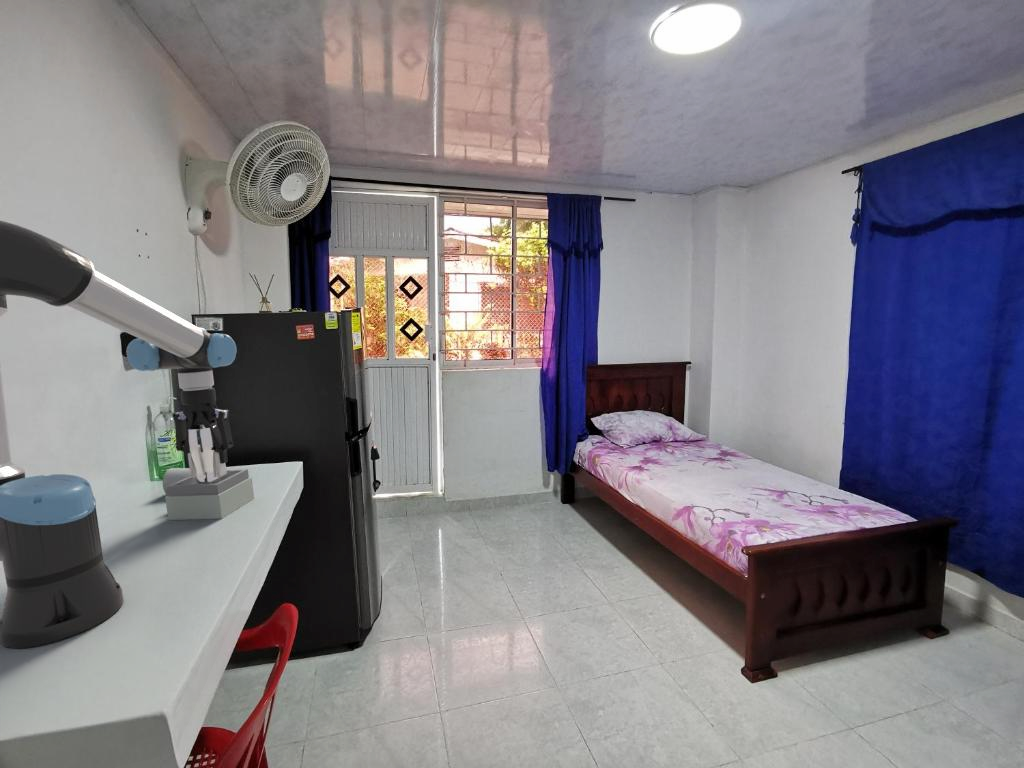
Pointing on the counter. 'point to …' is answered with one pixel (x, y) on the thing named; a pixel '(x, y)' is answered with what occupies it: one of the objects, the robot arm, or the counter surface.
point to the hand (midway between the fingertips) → (208, 475)
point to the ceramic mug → (174, 476)
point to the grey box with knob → (209, 497)
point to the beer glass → (203, 455)
